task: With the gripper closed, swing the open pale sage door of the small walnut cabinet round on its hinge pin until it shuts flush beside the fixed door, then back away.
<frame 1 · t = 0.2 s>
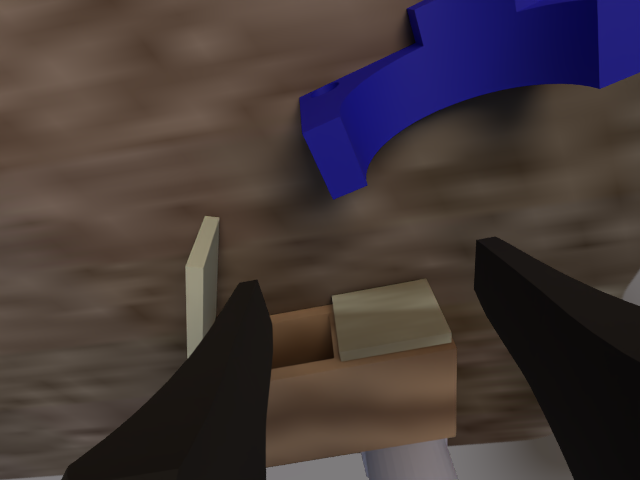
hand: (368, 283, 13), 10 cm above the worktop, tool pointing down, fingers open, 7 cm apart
blue curved piece: (417, 57, 19), on the worktop
cabinet: (330, 350, 29), on the worktop
door: (203, 302, 22), point 3 cm above the worktop, hinge at 70.0°
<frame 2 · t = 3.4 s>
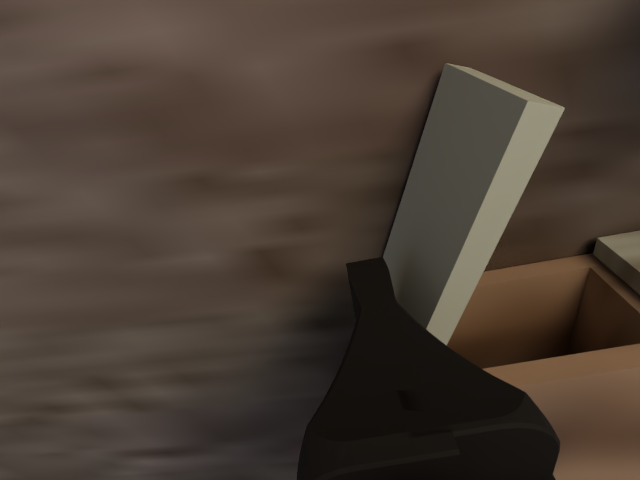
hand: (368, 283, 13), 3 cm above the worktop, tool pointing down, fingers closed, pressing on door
cabinet: (547, 333, 19), on the worktop
door: (434, 230, 12), point 3 cm above the worktop, hinge at 70.0°, touching gripper
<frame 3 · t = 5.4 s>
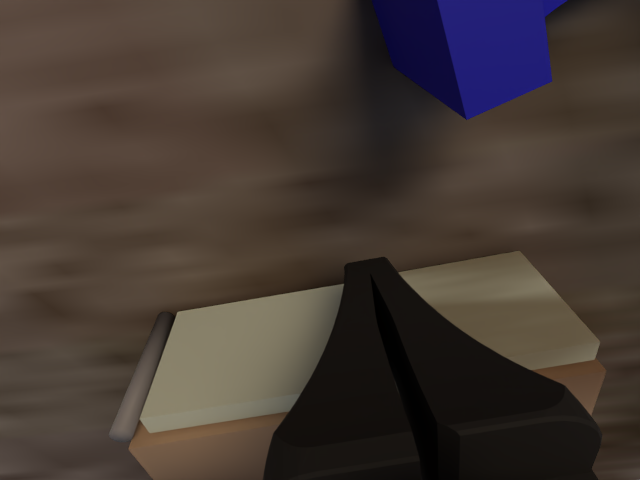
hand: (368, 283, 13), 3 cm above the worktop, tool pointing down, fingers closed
cabinet: (355, 365, 19), on the worktop
door: (252, 350, 14), point 3 cm above the worktop, hinge at -0.7°
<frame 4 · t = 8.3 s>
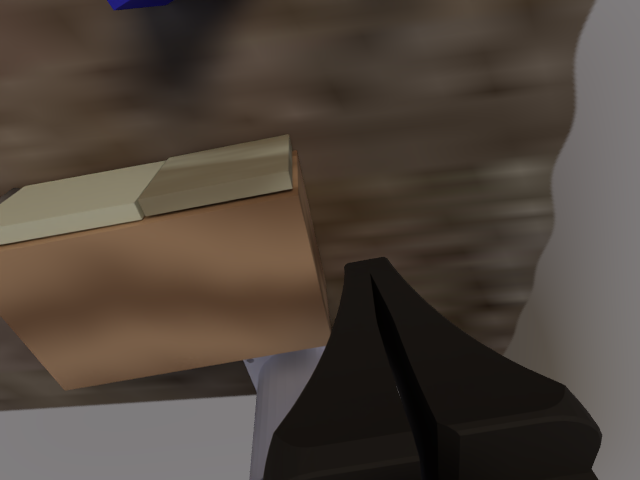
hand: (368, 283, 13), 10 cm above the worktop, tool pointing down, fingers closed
cabinet: (189, 245, 23), on the worktop
door: (66, 203, 18), point 3 cm above the worktop, hinge at -0.7°
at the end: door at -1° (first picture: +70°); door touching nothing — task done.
